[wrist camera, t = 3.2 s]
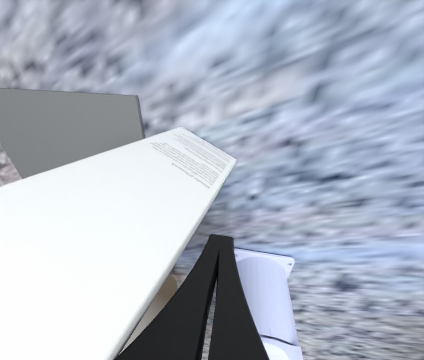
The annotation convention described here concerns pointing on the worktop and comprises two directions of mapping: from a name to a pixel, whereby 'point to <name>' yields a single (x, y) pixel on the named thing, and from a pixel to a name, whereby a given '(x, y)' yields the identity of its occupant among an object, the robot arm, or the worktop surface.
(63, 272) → the skincare box
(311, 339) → the worktop surface
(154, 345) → the robot arm
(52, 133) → the charcoal rubber mat
